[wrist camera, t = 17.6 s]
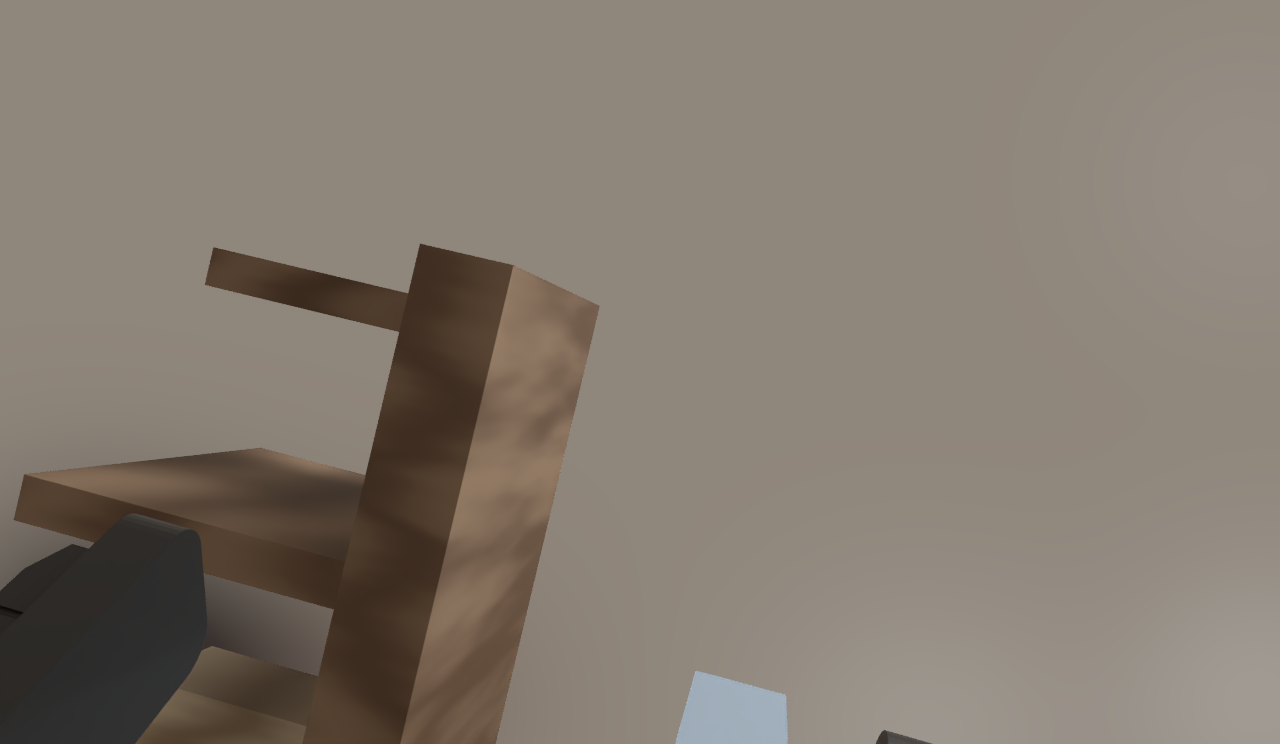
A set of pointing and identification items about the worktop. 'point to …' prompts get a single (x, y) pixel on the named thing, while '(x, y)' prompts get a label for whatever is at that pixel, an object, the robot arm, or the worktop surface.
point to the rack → (374, 512)
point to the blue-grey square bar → (732, 713)
